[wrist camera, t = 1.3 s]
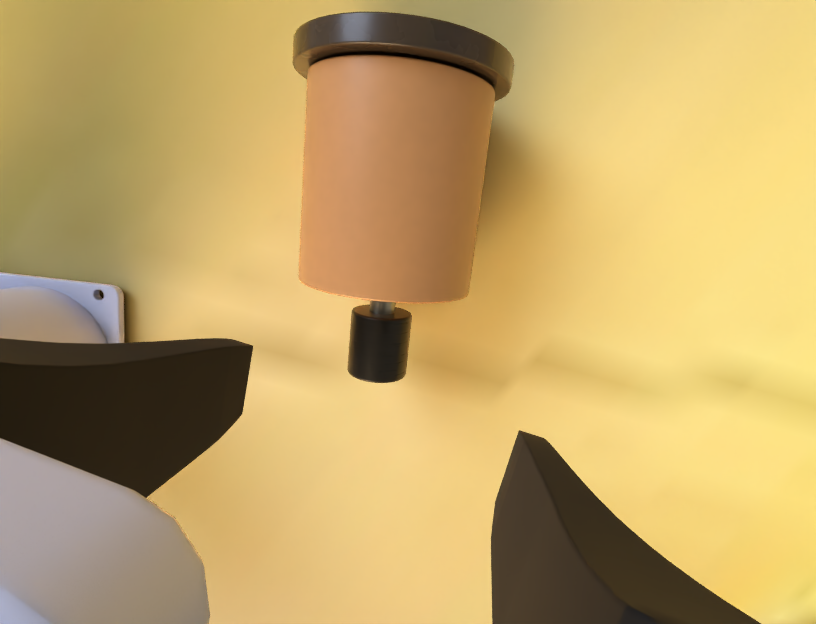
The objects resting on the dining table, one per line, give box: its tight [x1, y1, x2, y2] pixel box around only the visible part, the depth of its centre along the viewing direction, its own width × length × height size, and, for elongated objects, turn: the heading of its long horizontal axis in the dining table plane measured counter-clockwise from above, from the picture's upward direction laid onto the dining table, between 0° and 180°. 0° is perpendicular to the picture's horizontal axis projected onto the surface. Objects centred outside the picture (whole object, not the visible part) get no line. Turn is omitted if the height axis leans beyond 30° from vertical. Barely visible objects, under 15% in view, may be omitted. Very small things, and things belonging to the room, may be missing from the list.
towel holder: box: [293, 12, 514, 383], centre depth 17 cm, size 8×8×12 cm
